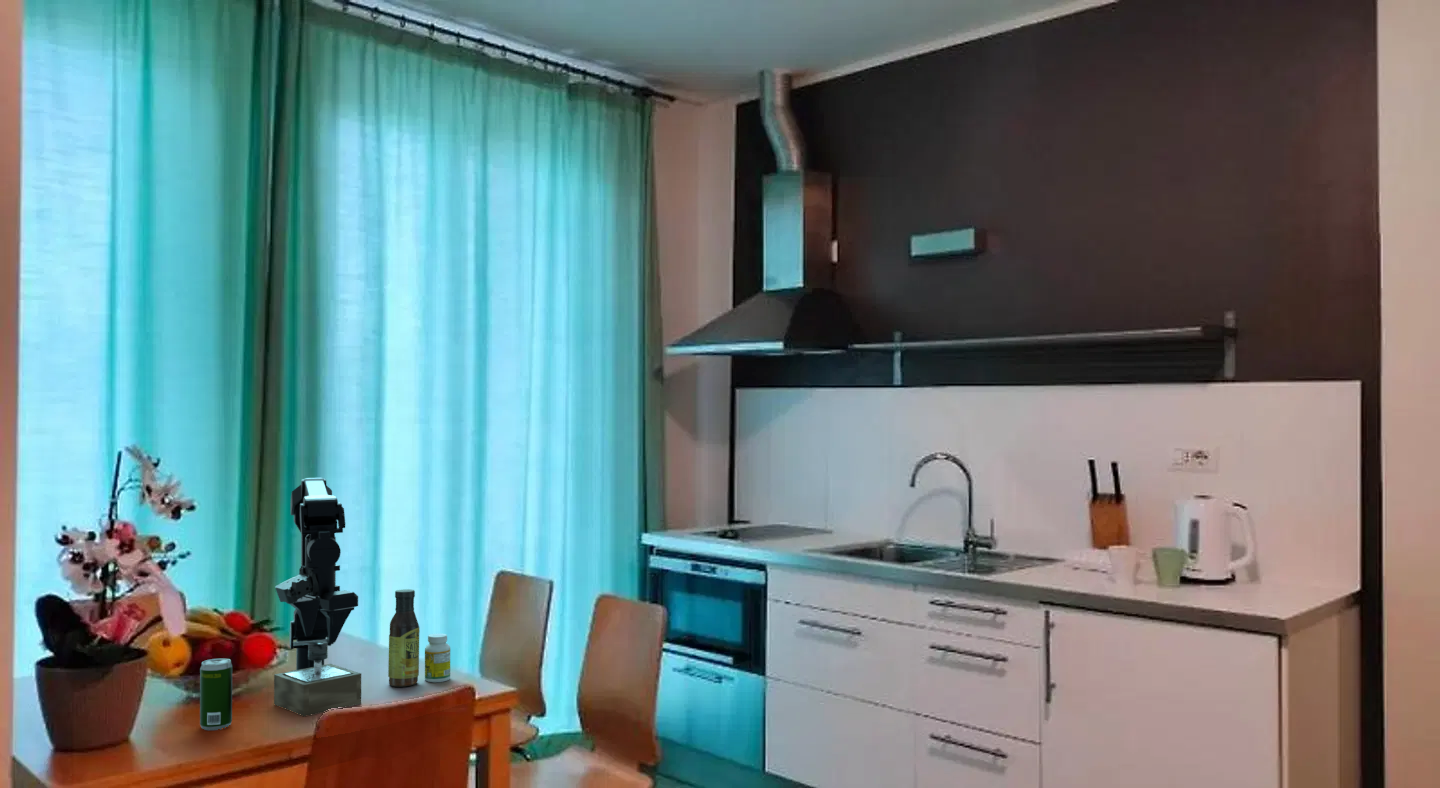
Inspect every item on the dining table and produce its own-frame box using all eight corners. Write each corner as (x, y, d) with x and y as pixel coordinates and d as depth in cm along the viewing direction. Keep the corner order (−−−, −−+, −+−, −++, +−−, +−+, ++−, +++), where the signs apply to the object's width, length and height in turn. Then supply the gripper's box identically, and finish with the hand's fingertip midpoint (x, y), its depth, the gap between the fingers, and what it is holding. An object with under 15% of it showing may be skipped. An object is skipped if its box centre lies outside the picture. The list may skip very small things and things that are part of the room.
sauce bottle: (410, 688, 230) (410, 593, 230) (382, 687, 231) (382, 592, 231) (424, 681, 236) (424, 588, 236) (397, 679, 238) (398, 587, 238)
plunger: (284, 677, 218) (284, 643, 218) (327, 669, 225) (327, 636, 225) (307, 686, 212) (307, 650, 212) (351, 677, 219) (351, 642, 219)
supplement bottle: (452, 681, 236) (452, 636, 236) (426, 683, 234) (426, 638, 234) (448, 675, 241) (448, 631, 241) (423, 677, 239) (423, 633, 239)
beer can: (232, 728, 202) (232, 663, 202) (200, 732, 200) (200, 666, 200) (231, 720, 207) (231, 657, 207) (199, 724, 205) (200, 659, 205)
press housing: (274, 704, 218) (274, 674, 218) (330, 692, 227) (330, 663, 227) (303, 716, 210) (304, 685, 210) (361, 703, 219) (361, 673, 219)
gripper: (258, 560, 218) (258, 639, 218) (306, 570, 206) (306, 653, 206) (310, 554, 227) (310, 630, 227) (359, 563, 215) (359, 643, 215)
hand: (320, 639), depth 218 cm, fingers open, 9 cm apart
